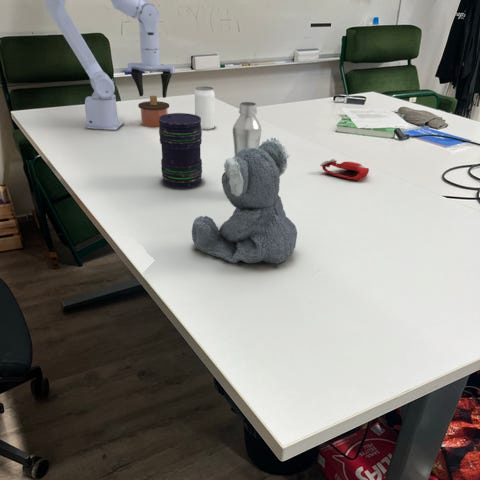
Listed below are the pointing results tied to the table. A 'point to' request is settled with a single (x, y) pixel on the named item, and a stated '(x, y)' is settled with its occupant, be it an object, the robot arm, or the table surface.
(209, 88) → the can
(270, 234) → the koala plush
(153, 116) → the cup
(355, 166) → the tracker holder
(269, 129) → the table surface
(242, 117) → the silver metal bottle
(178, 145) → the storage jar
